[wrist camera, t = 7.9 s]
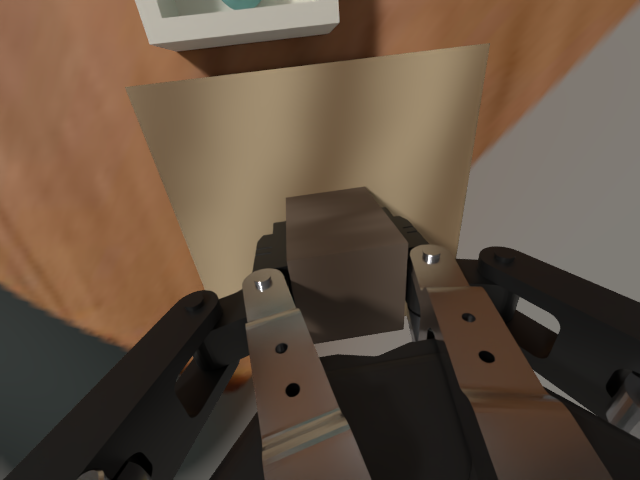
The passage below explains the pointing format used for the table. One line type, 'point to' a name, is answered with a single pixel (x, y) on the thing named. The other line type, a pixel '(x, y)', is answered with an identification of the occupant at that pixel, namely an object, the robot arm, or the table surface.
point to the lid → (320, 173)
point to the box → (233, 22)
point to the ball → (241, 4)
